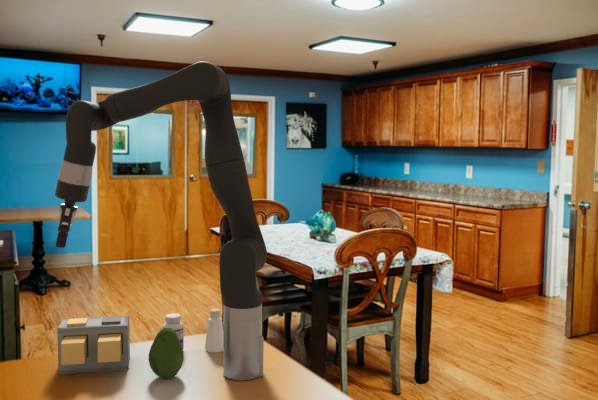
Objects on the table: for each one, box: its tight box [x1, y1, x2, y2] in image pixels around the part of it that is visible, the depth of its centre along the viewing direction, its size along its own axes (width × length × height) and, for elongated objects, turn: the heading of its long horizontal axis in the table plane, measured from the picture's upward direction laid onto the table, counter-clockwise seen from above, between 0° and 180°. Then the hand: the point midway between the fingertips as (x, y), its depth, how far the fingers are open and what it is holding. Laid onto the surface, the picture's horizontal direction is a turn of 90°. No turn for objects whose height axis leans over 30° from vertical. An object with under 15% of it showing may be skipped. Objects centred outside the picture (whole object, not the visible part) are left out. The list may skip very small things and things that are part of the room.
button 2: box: [98, 333, 122, 363], centre depth 141 cm, size 5×8×5 cm, turn 13°
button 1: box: [61, 335, 88, 365], centre depth 140 cm, size 5×8×5 cm, turn 13°
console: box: [56, 315, 131, 375], centre depth 145 cm, size 16×8×12 cm, turn 103°
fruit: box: [148, 327, 184, 380], centre depth 139 cm, size 8×8×12 cm
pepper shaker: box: [204, 307, 223, 354], centre depth 158 cm, size 5×5×11 cm
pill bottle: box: [162, 312, 185, 350], centre depth 157 cm, size 5×5×10 cm
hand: (61, 242), depth 148 cm, fingers open, 8 cm apart
